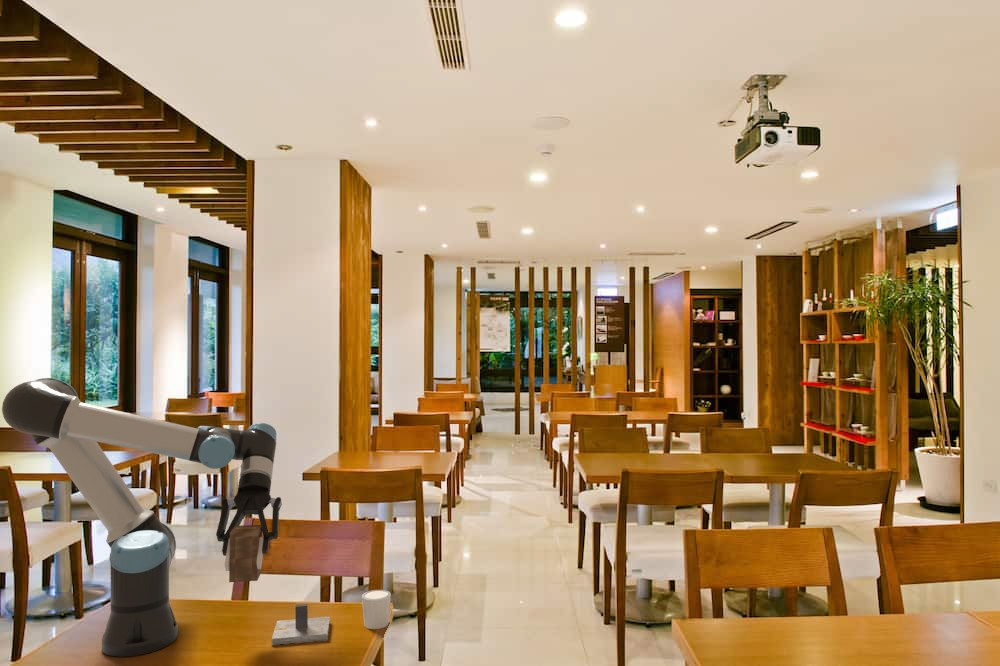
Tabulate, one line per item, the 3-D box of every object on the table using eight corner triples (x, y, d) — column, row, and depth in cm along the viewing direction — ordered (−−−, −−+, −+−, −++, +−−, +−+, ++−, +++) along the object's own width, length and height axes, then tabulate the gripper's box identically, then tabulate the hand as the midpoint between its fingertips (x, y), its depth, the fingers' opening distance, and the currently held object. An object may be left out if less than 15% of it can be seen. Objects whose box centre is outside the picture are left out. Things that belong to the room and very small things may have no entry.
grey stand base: (271, 645, 152) (271, 616, 152) (277, 627, 161) (277, 599, 162) (327, 640, 154) (327, 611, 154) (329, 622, 164) (329, 595, 164)
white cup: (384, 631, 159) (384, 600, 159) (357, 629, 160) (356, 598, 160) (395, 619, 165) (395, 590, 166) (368, 617, 167) (368, 588, 167)
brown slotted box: (229, 582, 153) (229, 531, 153) (234, 573, 159) (234, 524, 159) (257, 580, 154) (258, 530, 155) (261, 572, 160) (261, 523, 160)
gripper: (296, 486, 174) (288, 572, 158) (216, 489, 170) (200, 577, 154) (294, 469, 169) (286, 556, 152) (212, 471, 165) (194, 561, 149)
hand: (243, 567), depth 153 cm, fingers closed on brown slotted box, 6 cm apart
